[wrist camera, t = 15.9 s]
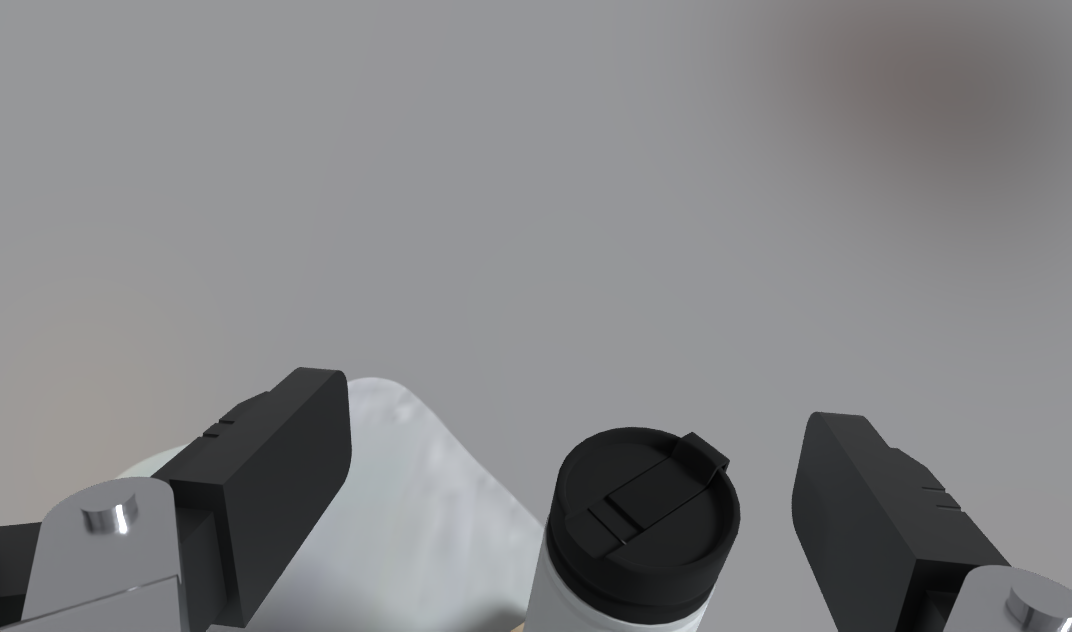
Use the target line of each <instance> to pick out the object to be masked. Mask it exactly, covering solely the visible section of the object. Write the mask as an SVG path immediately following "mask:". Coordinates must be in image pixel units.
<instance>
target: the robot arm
mask: <svg viewBox="0 0 1072 632" xmlns="http://www.w3.org/2000/svg"><path fill="white" fill-rule="evenodd" d="M351 456H352V445H351V430H350V415H349V400H348V386H347V380H346V377H345V375H344V373H343V372H342V371H339V370H326V369H315V368H304V367H299V368H297V369H295V370H294V371H293V372H292V373H291V374H289V375H288V376H287V377H286V378H285V379H284V380H283V381H281V382H280V383H279V384H278V385H277V386H276V387H275V388H273V389H272V390H271V391H270V392H267V391H266V392H264V393H262V394H259V395H257V396H255V397H253V398H250V399H248V400H246V401H244V402H241V403H240V404H238V405H237V406H235V407H234V408H233V409H232V410H230V411H229V412H228V413H227V414H226V415H224V416H223V417H222V418H221V419H219V423H215V424H214V425H212V426H211V427H210V428H209V429H207V430H206V431H205V432H204V433H203V436H202V437H198V438H197V439H196V440H194V441H193V442H192V443H191V444H189V445H188V446H187V447H186V448H184V449H183V450H182V451H181V452H180V453H178V454H177V455H176V456H175V457H174V458H172V459H171V460H170V461H169V462H168V463H166V464H165V465H164V466H163V467H162V468H160V469H159V470H158V471H157V472H155V473H154V474H153V475H152V476H151V477H129V478H121V479H115V480H111V481H107V482H103V483H100V484H97V485H94V486H91V487H88V488H86V489H84V490H81V491H79V492H77V493H75V494H73V495H71V496H69V497H68V498H66V499H64V500H63V501H61V502H60V503H59V504H57V505H56V506H55V507H54V508H53V509H52V510H51V511H50V512H49V513H48V514H47V515H46V516H45V518H44V519H43V521H42V522H38V523H29V524H19V525H9V526H0V632H206V630H207V629H208V628H209V626H210V625H211V624H215V625H224V626H232V627H240V628H245V627H246V625H247V624H248V622H249V621H250V619H251V618H252V616H253V615H254V613H255V612H256V611H257V609H258V608H259V606H260V605H261V603H262V602H263V600H264V599H265V597H266V596H267V595H268V593H269V592H270V590H271V589H272V587H273V586H274V584H275V583H276V581H277V580H278V578H279V577H280V576H281V574H282V573H283V571H284V570H285V568H286V567H287V565H288V564H289V562H290V561H291V560H292V558H293V557H294V555H295V554H296V552H297V551H298V549H299V548H300V546H301V545H302V544H303V542H304V541H305V539H306V538H307V536H308V535H309V533H310V532H311V530H312V529H313V528H314V526H315V525H316V523H317V522H318V520H319V519H320V517H321V516H322V514H323V513H324V511H325V510H326V509H327V507H328V506H329V504H330V503H331V501H332V500H333V498H334V497H335V495H336V494H337V493H338V491H339V490H340V488H341V487H342V485H343V484H344V482H345V480H346V477H347V475H348V472H349V468H350V463H351ZM792 517H793V524H794V528H795V531H796V534H797V536H798V538H799V540H800V543H801V545H802V548H803V550H804V552H805V555H806V557H807V559H808V562H809V564H810V566H811V568H812V571H813V573H814V576H815V578H816V580H817V583H818V585H819V587H820V590H821V592H822V594H823V597H824V599H825V601H826V603H827V606H828V608H829V611H830V613H831V615H832V617H833V620H834V622H835V625H836V627H837V629H838V632H1072V590H1071V589H1069V588H1067V587H1065V586H1063V585H1061V584H1059V583H1057V582H1055V581H1053V580H1050V579H1049V578H1046V577H1043V576H1041V575H1038V574H1036V573H1032V572H1029V571H1026V570H1023V569H1019V568H1014V567H1012V566H1011V565H1010V564H1009V563H1008V562H1007V561H1006V560H1005V559H1004V557H1003V556H1002V555H1001V554H1000V552H999V551H998V550H997V549H996V548H995V547H994V546H993V544H992V543H991V542H990V541H989V540H988V538H987V537H986V536H985V535H984V534H983V533H982V531H981V530H980V529H979V528H978V527H977V526H976V524H975V523H974V522H973V521H972V520H971V519H970V517H969V516H968V515H967V514H966V513H965V512H961V507H960V506H959V505H958V504H957V502H956V501H955V500H954V499H953V498H952V496H951V495H950V494H948V493H945V488H944V487H943V486H942V485H941V484H940V482H939V481H938V480H937V479H936V478H935V477H934V476H933V474H932V473H931V472H930V471H929V470H928V468H926V467H925V466H924V465H922V464H920V463H919V462H918V461H916V460H914V459H913V458H911V457H910V456H908V455H907V454H905V453H904V452H902V451H901V450H899V449H898V448H890V447H889V446H888V445H887V444H886V443H885V441H884V440H883V439H882V437H881V436H880V435H879V434H878V432H877V431H876V430H875V429H874V427H873V426H872V425H871V424H870V422H869V421H868V420H867V419H866V418H865V417H864V416H859V415H847V414H836V413H824V412H814V413H813V414H811V416H810V418H809V420H808V422H807V426H806V431H805V435H804V440H803V445H802V450H801V455H800V459H799V464H798V469H797V474H796V478H795V484H794V488H793V494H792Z"/></svg>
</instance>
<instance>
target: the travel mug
mask: <svg viewBox="0 0 1072 632" xmlns="http://www.w3.org/2000/svg"><path fill="white" fill-rule="evenodd" d="M729 462H730V460H729V459H728V458H727V457H725V456H724V455H723V454H721V453H720V452H718V451H717V450H716V449H715V448H714V447H712V446H711V445H710V444H708V443H707V442H705V441H704V440H703V439H702V438H700V437H699V436H698V435H696V434H695V433H693V432H691V433H689V434H687V435H685V436H684V437H682V438H680V437H677V436H676V435H673V434H670V433H667V432H664V431H661V430H655V429H650V428H638V427H625V428H616V429H611V430H607V431H604V432H600V433H598V434H596V435H594V436H592V437H589V438H587V439H585V440H584V441H583V442H581V443H580V444H579V445H577V446H576V447H575V448H574V449H573V450H572V451H571V452H570V453H569V454H568V455H567V457H566V458H565V460H564V462H563V464H562V466H561V468H560V470H559V474H558V478H557V482H556V487H555V491H554V496H553V500H552V505H551V511H550V514H549V515H548V518H547V522H546V526H545V530H544V534H543V540H542V544H541V548H540V553H539V558H538V562H537V567H536V572H535V576H534V581H533V586H532V590H531V595H530V600H529V604H528V609H527V614H526V618H525V623H524V628H523V632H696V630H697V627H698V625H699V623H700V621H701V618H702V616H703V614H704V612H705V610H706V607H707V605H708V602H709V600H710V598H711V596H712V594H713V592H714V589H715V585H716V581H717V578H718V575H719V573H720V571H721V569H722V567H723V565H724V563H725V561H726V558H727V556H728V554H729V552H730V550H731V547H732V545H733V543H734V541H735V538H736V536H737V534H738V529H739V524H740V504H739V501H738V497H737V494H736V491H735V488H734V486H733V484H732V483H731V481H730V479H729V477H728V476H727V474H726V473H725V472H726V470H727V467H728V465H729Z"/></svg>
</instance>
